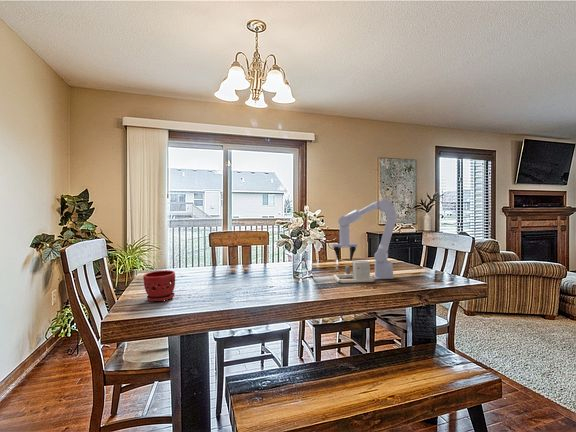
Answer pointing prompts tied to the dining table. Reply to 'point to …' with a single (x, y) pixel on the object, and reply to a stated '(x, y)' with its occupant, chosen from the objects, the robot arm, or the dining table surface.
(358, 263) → the small box
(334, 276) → the pull frame
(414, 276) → the dining table surface
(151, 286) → the plant pot
